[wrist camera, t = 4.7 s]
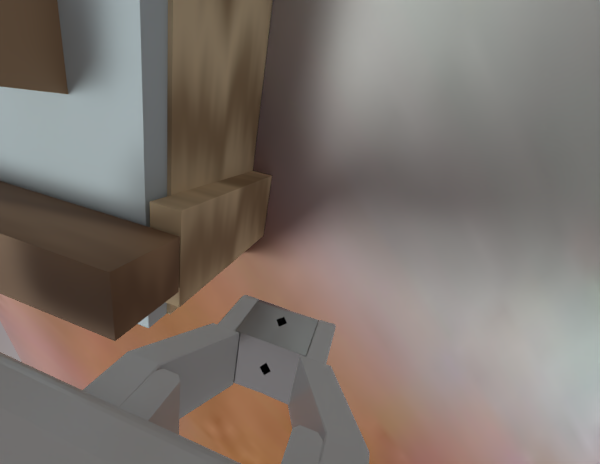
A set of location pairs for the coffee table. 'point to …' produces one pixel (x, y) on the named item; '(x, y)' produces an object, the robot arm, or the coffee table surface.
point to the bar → (83, 262)
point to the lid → (86, 103)
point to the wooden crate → (213, 136)
